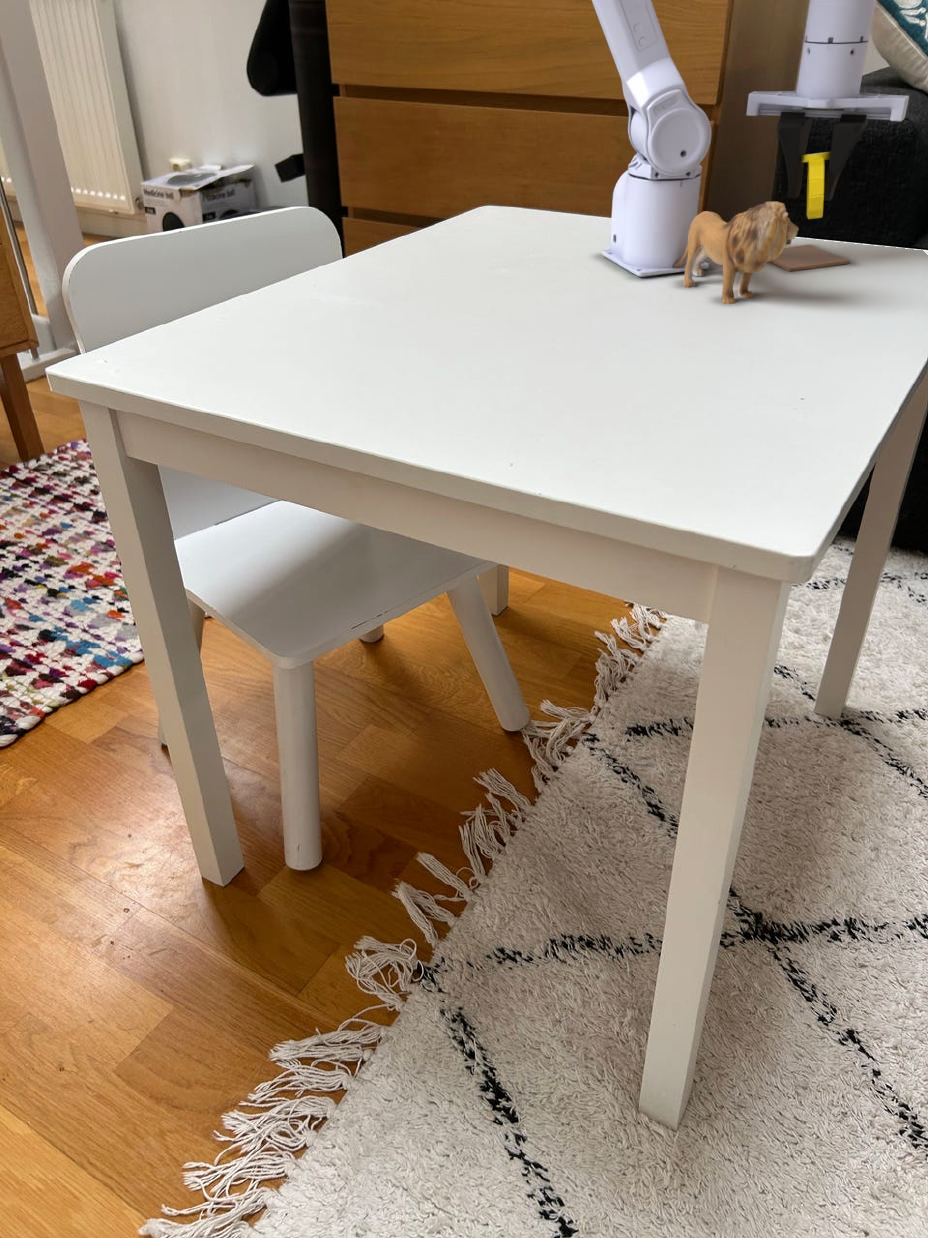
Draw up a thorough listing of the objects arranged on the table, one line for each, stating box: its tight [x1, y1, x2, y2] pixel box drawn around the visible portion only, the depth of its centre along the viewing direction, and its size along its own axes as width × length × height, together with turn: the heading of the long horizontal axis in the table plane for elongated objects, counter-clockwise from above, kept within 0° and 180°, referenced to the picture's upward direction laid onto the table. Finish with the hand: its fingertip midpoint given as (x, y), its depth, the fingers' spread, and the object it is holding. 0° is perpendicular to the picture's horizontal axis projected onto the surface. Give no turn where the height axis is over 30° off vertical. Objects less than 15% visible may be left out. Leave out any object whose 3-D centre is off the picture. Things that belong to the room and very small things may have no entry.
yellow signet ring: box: [801, 151, 831, 220], centre depth 96 cm, size 6×3×6 cm, turn 164°
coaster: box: [768, 244, 850, 272], centre depth 100 cm, size 7×7×1 cm
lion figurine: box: [672, 200, 800, 305], centre depth 90 cm, size 15×5×9 cm, turn 31°
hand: (810, 197), depth 97 cm, fingers closed on yellow signet ring, 3 cm apart
